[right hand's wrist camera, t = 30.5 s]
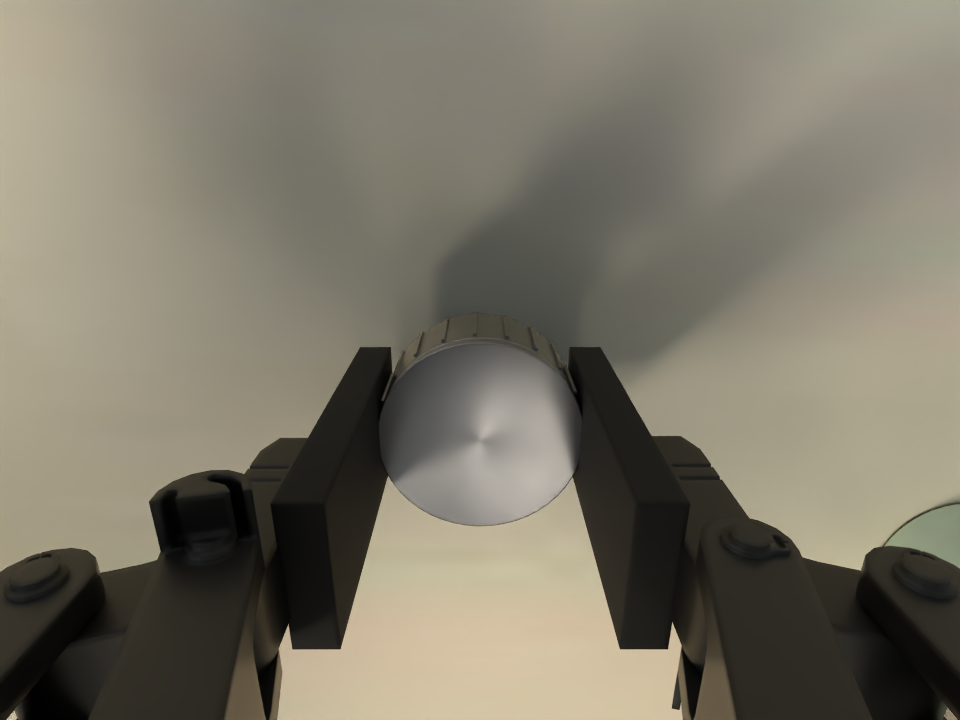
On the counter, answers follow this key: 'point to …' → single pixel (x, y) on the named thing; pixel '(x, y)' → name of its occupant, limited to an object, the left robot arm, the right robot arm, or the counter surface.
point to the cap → (480, 421)
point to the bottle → (933, 534)
